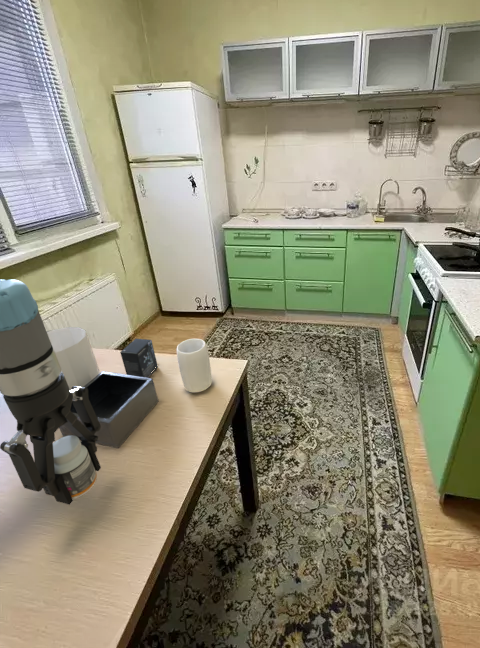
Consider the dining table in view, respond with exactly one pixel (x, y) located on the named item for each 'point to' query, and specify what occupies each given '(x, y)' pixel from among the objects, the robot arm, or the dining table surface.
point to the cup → (194, 365)
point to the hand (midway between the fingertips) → (79, 483)
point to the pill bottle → (74, 465)
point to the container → (74, 355)
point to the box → (139, 358)
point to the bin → (118, 405)
